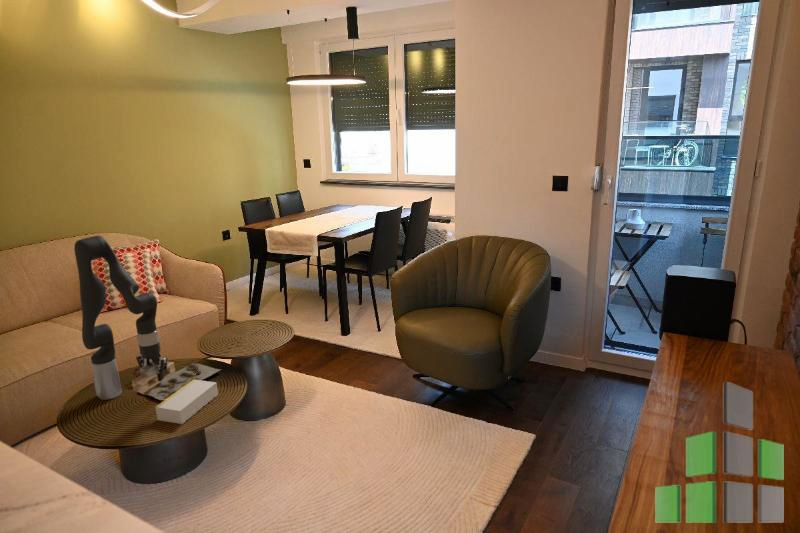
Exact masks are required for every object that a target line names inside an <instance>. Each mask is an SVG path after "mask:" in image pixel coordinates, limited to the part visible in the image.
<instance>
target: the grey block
mask: <svg viewBox="0 0 800 533" xmlns="http://www.w3.org/2000/svg"><path fill="white" fill-rule="evenodd" d="M156 366H157V365H156ZM139 368H140V367H139ZM140 372H141V376H146V377H151V376H153V375H154V374H156V373H157V371H156V369H154V367H153V366H152V365H148V364H147V366H144V367H142V368H140Z"/></svg>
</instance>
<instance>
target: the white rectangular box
mask: <svg viewBox="0 0 800 533" xmlns="http://www.w3.org/2000/svg"><path fill="white" fill-rule="evenodd" d="M218 395H219V391H218V383H217V382H214V381H207V380H195V379H194V380H192V381H191V382H189V383H188V384H187V385H185V386H183V387H182V388H181V389H180V390H178V391H177V392H175V393H174V394H173V395H169V397H166V398H167V399H166V398H165V399H166V400H162V401H161V403H158V404H157V405H156V406H155V412H156V413H155V414H156V417H157V418H156V419H157V421H160V422H161V421H162V422H168V423H174V424H178V425H183V424H184V423H185V422H186V420H187V421H188V420H189V419H190V418H192V417H193V416H194V415H195V414H196V413H198V412H199V411H200V410H201V409H202V408H204V407H206V405H207V404H208V402H209V403H210V402H211V401H212V400H213V399H215V398H216V397H217V396H218ZM214 397H215V398H214ZM203 406H204V407H203ZM198 410H199V411H198ZM197 411H198V412H197Z"/></svg>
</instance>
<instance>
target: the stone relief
mask: <svg viewBox="0 0 800 533" xmlns="http://www.w3.org/2000/svg"><path fill="white" fill-rule="evenodd" d="M191 368H193V369H191ZM194 369H195V370H194ZM189 370H190V371H189ZM192 370H194V371H196V372H194V371H192ZM221 370H222V368H221V369H219V368H215V367H211V366H209V365H205V364H200V363H196V362H194V363H191V364H189V365H187V366H185V367H183V368H181V369H180V370H177V371H175V373H173V374H172V375H170V376H169V377H167V378H166V379H164V380H163V381H161V382H160V383H158V384H157V385H155V386H153V387H152V388H151V390H150V391H149V392H148V393H149V394H148V393H147V396H150V397H153V398H154V399H156V400H159V401H164V400H166V399H167V398H168V397H167V396H171V395H173V394H174V393H175V392H177V391H178V390H180V389H181V388H182V387H184V386H185V385H187V384H188V383H189V382H191V381H192V380H194V379H195V380H201V381H204V380H205V379H207V378H209V377H211V376H212V375H215V374H216V373H217V372H219V371H221ZM193 372H194V373H195V374H194V373H193ZM196 374H199V375H196ZM183 376H184V377H183ZM171 382H172V383H174V385H173V384H172V383H171ZM172 385H173V386H172ZM171 386H172V387H171ZM154 387H155V388H154ZM156 387H158V388H156ZM170 388H171V389H170ZM138 393H140V394H142V395H145V394H144V393H142V392H138Z"/></svg>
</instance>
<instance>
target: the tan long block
mask: <svg viewBox="0 0 800 533" xmlns="http://www.w3.org/2000/svg"><path fill="white" fill-rule="evenodd" d="M175 372H176V367H175V362H172V361H167V370H165V371H164V372H163V376H164V379H166V378H167V377H169V376H170V375H172V374H173V373H175ZM164 379H163V380H164ZM163 380H162V381H163ZM160 382H161V381H158V377H157V373H156V374H154V375H153V376H151V377H146V376H139V377H138V378H136V377H135V379H133V380H131V384H132V389H133V390H132V391H133V392H135V393H136V392H137V393H139V392H142V393H143V394H144V393H146V392H147V391H149V390H150V389H153V388H152V387H153V386H155V385H157V384H158V383H160Z"/></svg>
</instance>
